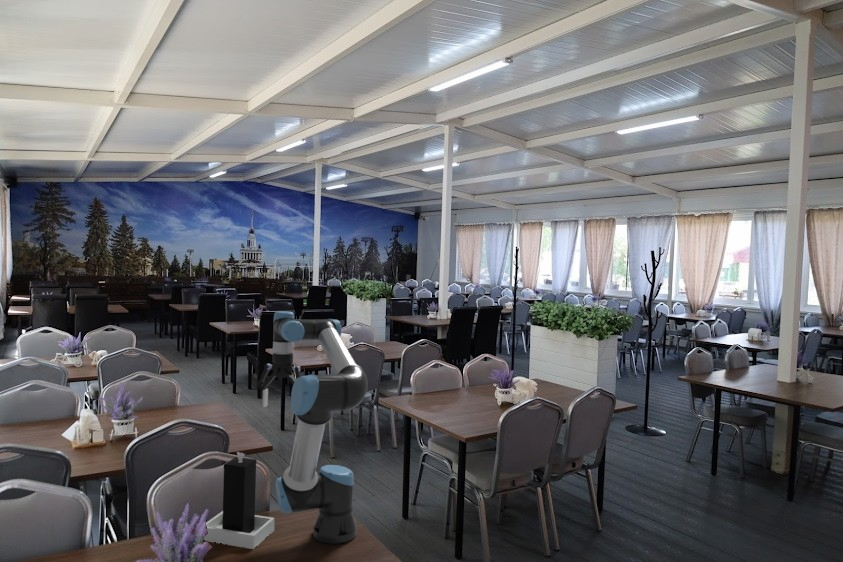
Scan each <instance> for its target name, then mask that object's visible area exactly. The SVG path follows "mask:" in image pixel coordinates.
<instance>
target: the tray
mask: <svg viewBox="0 0 843 562" xmlns="http://www.w3.org/2000/svg"><path fill="white" fill-rule="evenodd" d="M275 519H276V518H275V517H272V516H264V515H256V514H255V522H254V530H253V531H252V532H251V533H244V532H238V531H232V530H225V529H222V524H223V510H221V512H219V513H217V514H216V515H215V516H213V517H212V518H211V519H209V520H208V521H206V522H205V523H206V526H207V530H208V534H207V535H206V536H205V537H204V540H205V541H204V542H208V543H209V542H210V543H214V542H216V544H220V543H222V545H226V544H227V546H232V547H237V548H239V547H240V548H243V547H244V549H248V550H249V549H250V550H255V549H256V548H255V547H256V546H257V547H258V546H259V545H260V544H261V543H262V542H264V541H265V540H266V539H267V538H268V537H269V536H270V535H271V534H272V533H273V532H275ZM269 534H270V535H269ZM267 536H268V537H267ZM266 537H267V538H266ZM265 538H266V539H265Z"/></svg>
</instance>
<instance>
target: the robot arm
mask: <svg viewBox="0 0 843 562" xmlns="http://www.w3.org/2000/svg"><path fill="white" fill-rule="evenodd" d="M272 322H273V335H272V336H273V337H272V338H273V339H272V340H273V341H272V352H273V353H272V364H271V363H266V364H264V366H263V367H264V369H263V371H262V373H261V376H260V377H259V379H258V380H257V381H258V382H257V383H256V385H255V387H256V388H257V389H260V398H261V399H262V404H261V405H262V408H266V407H268V405H269V403H268V402H269V388H268V386H269V385H271V383H272V382H273V381H274V380H275V379H276V377H277V378H283V379H285V378H287V380H289V382H290V384H291V385H292V389H291V393H290V396H291V397H290V407H291V411H292V413H293V414H294V416H295V417H296V418H297V424H296V425H297V426H296V429H295V430H296V431H295V436H294V440H293V448H292V451H291V458H290V463H289V466H288V467H287V468H286V469H285V470H284V471H283V475H282V476H279V477H277V478H276V479H275V493H276V500H277V505H278V508H279V510H280V512H281V513H282V514H294V513H301V512H305V511H306V512H307V511H311V510H315V509H316V510H317V509H318V514H317V517H316V518H315V519H316V520H315V522H314V525H313V529H312V535H313V538H314V539H315V540H316V541H318V542H319V543H320V542H321V543H324V544H328V545H329V544H333V545H334V544H335V545H336V544H343V543H347V542H350V541H352V540H353V539H354V538H355V537H357V533H358V526H357V523H356V522H357V521H356V519H355V515H354V512H353V510H354V509H353V508H354V485H355V481H354V472H353V471H352V470H351V469H350V468H348V467H347V466H343V465H337V464H325V465H323V466H321V467H320V469H319V471H318V472H317V470H316V469H317V465H318V460H319V457H320V456H319V455H320V451H321V447H322V442H323V436H324V432H325V428H326V424H327V423H329V422H330V421H331V420H332V417H333V413H334V412H335V413H336V412H347V411H350V410H353V409H354V408H356V407H358V406H359V405H360V404H361V403H362V402H363V400H364V398H365V397H366V394H367V391H368V386H369V385H368V383H369V382H368V376H367V374H366V373H365V371H364V369H363V368H362V366H360V365H359V364H357V363H356V361H355V360H354V358H353V356H352V355H351V353H350V351H349V350H348V347H347V346H346V343H344V341H343V339H342V338H341V335H342V325H341V322H340V320H338V319H332V318H327V319H295V313H294V312H293V311H285V310H283V311H281V310H280V311H279V310H278V311H276V312H274V314H273V321H272ZM300 341H318V342H319V344H320V346H321V348H322V350H323V352H324V354H325V356H326V358H327V360H328V362H329V365H330V366H331V368H332V370H333V371H334V373H329V374H312V373H311V374H309V375H303V373H302V369H301V366H300V365H298V366H294V365H293V363H294V353H293V352H294V343H297V342H300ZM271 370H272V373H271V374H270V375H269V373H270V371H271ZM294 373H295V375H294ZM268 375H269V377H268ZM267 377H268V378H267ZM266 378H267V379H266ZM265 380H266V381H265Z"/></svg>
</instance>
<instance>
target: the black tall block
mask: <svg viewBox="0 0 843 562" xmlns="http://www.w3.org/2000/svg"><path fill="white" fill-rule="evenodd" d="M236 455H237V456H236V457H234V458H232V459H231V460H228V461H227V462H225V463H224V464H223V491H222V492H223V495H222V511H223V524H222V529H225V530H232V531H238V532H244V533H251V532H252V531H253V530H254V522H255V515H256V514H255V513H256V486H257V485H256V479H257V478H256V477H257V459H255V458H247V457H245V455H246V453H243V452H239V451H237V452H236Z"/></svg>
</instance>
